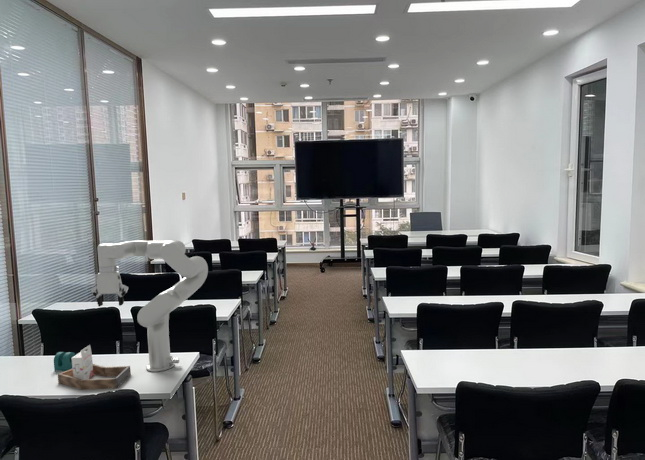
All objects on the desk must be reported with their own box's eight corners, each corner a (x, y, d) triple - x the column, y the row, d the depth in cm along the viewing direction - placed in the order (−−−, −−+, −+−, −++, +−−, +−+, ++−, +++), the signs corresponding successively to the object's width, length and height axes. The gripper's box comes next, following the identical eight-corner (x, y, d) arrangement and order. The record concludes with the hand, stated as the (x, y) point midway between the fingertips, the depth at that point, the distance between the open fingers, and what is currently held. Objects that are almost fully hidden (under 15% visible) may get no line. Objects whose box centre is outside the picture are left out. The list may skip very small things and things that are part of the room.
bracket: (67, 371, 216) (65, 355, 216) (54, 370, 217) (53, 354, 217) (91, 357, 234) (90, 342, 233) (80, 357, 235) (78, 342, 234)
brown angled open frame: (136, 369, 215) (135, 360, 215) (116, 388, 194) (116, 379, 194) (73, 371, 215) (72, 363, 214) (47, 391, 194) (46, 382, 193)
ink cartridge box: (83, 375, 210) (80, 344, 208) (94, 375, 210) (91, 344, 208) (73, 383, 201) (70, 351, 200) (84, 383, 201) (81, 350, 200)
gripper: (129, 267, 218) (132, 302, 220) (93, 269, 218) (96, 304, 219) (123, 270, 211) (126, 306, 212) (85, 271, 210) (88, 308, 212)
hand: (110, 305), depth 216 cm, fingers open, 9 cm apart
